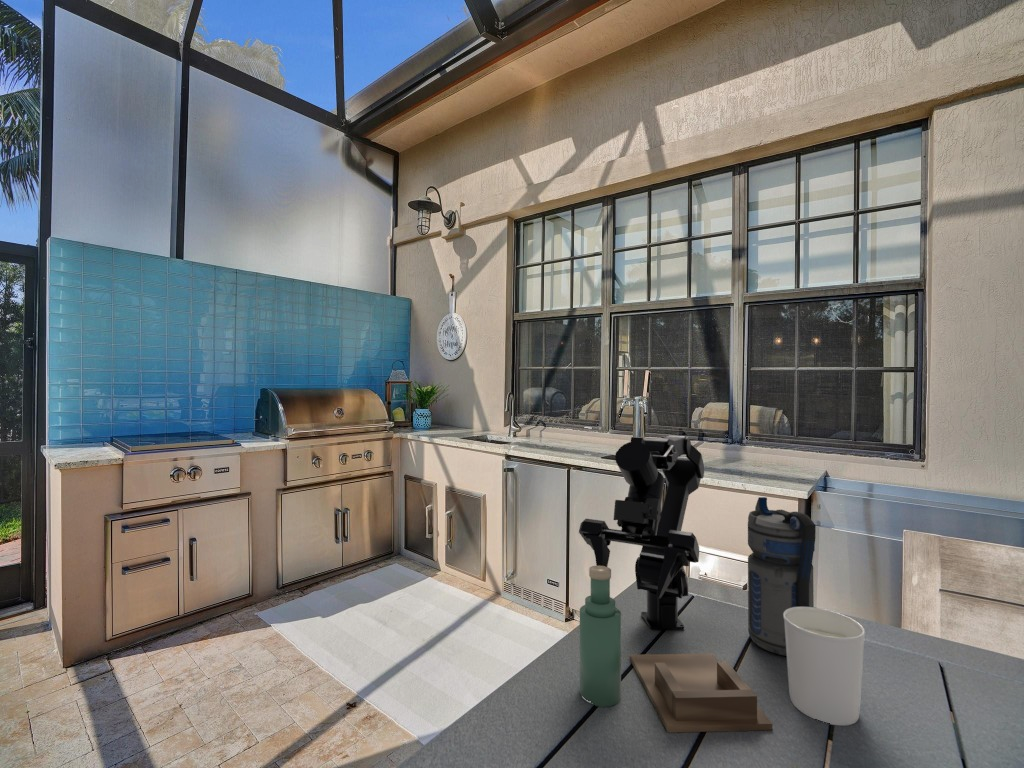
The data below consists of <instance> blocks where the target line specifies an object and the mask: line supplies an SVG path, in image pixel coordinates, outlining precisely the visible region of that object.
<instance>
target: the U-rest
mask: <svg viewBox="0 0 1024 768" xmlns="http://www.w3.org/2000/svg"><path fill="white" fill-rule="evenodd" d="M629 661H630V663H631V665H632V666H633V668H634V671H635V673H637V676H638V678H639V680H640V681H641V684H642V686H643V688H644V689H645V692H646V693H647V695H648V697H649V700H650V701H651V703H652V705H653V707H654V709H655V712H657V714H658V716H659V719H660V721H661V722H662V724H663V727H664V729H665V730H666V733H700V732H703V733H705V732H740V731H741V732H742V731H746V732H748V731H773V723H772V721H771V720H770V719H769V718H768V717H767V715H766V714H765V713H764V711H762V710H761V708H760V706H758V695H757V694H756V693H755V692H754V691H753V690H752V689H751V688H750V686H749V685H748V684H747V683H746V681H745V680H744V679H743V678H742V677H741V676H740V675H739V673H738V672H737V671H736V670H735V669H734V668H733V667H732V666H731V665H730V663H729V662H728V661H720V660H719V659H718V657H717V656H715V654H714V653H712V652H710V653H708V652H707V653H663V654H662V653H657V654H653V653H652V654H651V653H650V654H629Z"/></svg>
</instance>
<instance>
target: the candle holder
mask: <svg viewBox="0 0 1024 768" xmlns="http://www.w3.org/2000/svg"><path fill="white" fill-rule="evenodd" d="M783 618H784V627H785V641H786V655H787V656H786V667H787V681H788V691H789V692H788V693H789V694H788V695H789V699H790V702H791V703H792V705H793V706H794V707H795V708H796V709H797V710H798V711H799V712H801V713H802V714H803V715H806V716H807V717H809V718H811V719H813V720H815V719H819V720H821V721H826V722H828V723H830V724H829V725H831V726H839V727H840V726H851V725H854V724H855V723H857V722H858V720H859V718H860V712H861V711H860V710H861V701H862V700H861V697H862V682H863V665H864V646H865V637H866V636H865V635H866V630H865V628H864V626H862V624H861V623H859V622H858V621H857V620H855V619H853V618H851V617H850V616H846V615H844V614H842V613H839V612H836V611H833V610H829V609H825V608H820V607H792V608H789V609H787V610H785V611H784V613H783Z"/></svg>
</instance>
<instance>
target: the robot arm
mask: <svg viewBox="0 0 1024 768" xmlns="http://www.w3.org/2000/svg"><path fill="white" fill-rule="evenodd" d="M614 457H615V458H614V460H615V463H616V465H617V466H618V468H619V471H620V472H621V475H622V476H623V479H624V480H625V482H626V483H627V484H628V486H629V488H628V492H627V493H628V494H627V496H625V498H624V500H621V499H615V500H614V509H613V519H612V520H613V521H616V525H617V526H618V527H619V528H620V530H619V529H614V528H609V526H608V524H607V523H606V521H605V520H599V519H592V518H585V519H584V520H583V521H582V522H581V523H580V524H579V525H580V526H579V529H578V534H580V536H581V537H582V539H583V540H584V542H585V543H586V545H588V546H590V548H591V549H592V550H593V553H594V556H595V564H596V565H595V566H606V567H608V566H609V561H610V554H611V550H610V548H609V546H610V545H611V542H615V543H623V544H627V545H636V546H642V548H641V550H640V553H639V556H638V557H637V558H636V560H635V565H634V571H635V581H636V589H637V590H643V591H646V611H642V612H640V615H641V616H642V619H643V620H644V622H645V623H646V624H647V626H648V627H649V629H650V630H653V631H654V630H684V629H685V624H684V623H683V622H682V621H681V620H680V619H679V616H678V609H679V608H678V605H679V602H678V599H683V597H688V596H689V583H688V577H687V573H686V571H685V567H690V563H699V558H700V545H699V542H698V540H697V537H696V536H695V534H694V532H691V531H683V530H682V528H683V524H684V520H685V519H684V518H685V515H686V514H685V513H686V510H687V506H688V505H687V504H688V501H689V496H690V495H691V494H692V493H694V492H695V491H697V490H698V489H699V488H700V483H701V480H702V479H704V476H705V465H704V458H703V454H702V453H701V452H700V451H699V450H698V449H697V448H696V447H695V446H694V445H692V442H691V438H690V437H688V436H687V435H673V434H672V435H666V436H664V437H662V438H661V437H645V436H644V437H643V436H631V437H630V441H629V442H626V443H624V444H622V445H621V446H620V447H619V449H618V450H616V452H615V455H614ZM658 470H662V472H663V474H662V473H661V472H660V471H658ZM665 483H666V486H667V488H666V491H665V496H664V499H663V494H664V485H665ZM662 499H663V500H662ZM662 501H663V504H662Z"/></svg>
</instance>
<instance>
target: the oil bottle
mask: <svg viewBox="0 0 1024 768" xmlns="http://www.w3.org/2000/svg"><path fill="white" fill-rule="evenodd" d="M588 572H589V573H588V576H589V578H590V595H588V596H586V597H585V598H584V605H582V606H580V608H579V695H580V694H581V695H582V696H583V697H584V698H585V699H586V700H588V701H591V703H593V704H594V705H595V707H599V708H603V707H604V708H607V707H612V706H616V705H617V704H618V703H620V701H621V698H622V658H621V657H622V612H621V610H620V609H619V608H618V607H616V600H615V599H614V598H613V597H611V588H610V587H611V586H610V584H611V579H612V568H610V567H608V566H607V567H606V566H596V565H592V566H590V567H589V569H588ZM594 705H593V706H594Z"/></svg>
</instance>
